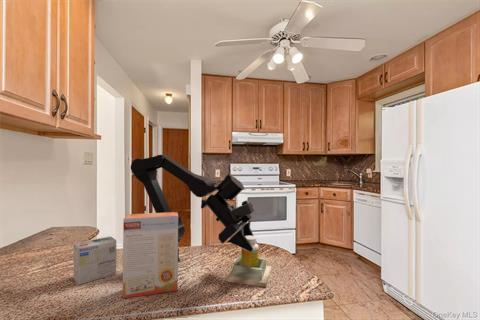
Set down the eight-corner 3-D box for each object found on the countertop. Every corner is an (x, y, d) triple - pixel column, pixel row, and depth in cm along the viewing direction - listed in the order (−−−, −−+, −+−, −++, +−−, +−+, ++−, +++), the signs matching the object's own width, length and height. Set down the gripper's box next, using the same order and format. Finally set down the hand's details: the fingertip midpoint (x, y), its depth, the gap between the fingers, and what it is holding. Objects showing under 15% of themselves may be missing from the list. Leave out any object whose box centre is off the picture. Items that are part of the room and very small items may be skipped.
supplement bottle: (252, 273, 73) (253, 241, 73) (237, 268, 76) (238, 237, 76) (261, 267, 78) (261, 236, 78) (246, 262, 81) (247, 233, 81)
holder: (226, 281, 72) (226, 267, 72) (236, 264, 84) (237, 253, 84) (266, 286, 69) (266, 272, 69) (271, 269, 81) (271, 257, 81)
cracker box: (177, 281, 72) (178, 210, 72) (177, 292, 66) (178, 215, 66) (125, 287, 68) (127, 213, 68) (121, 299, 62) (123, 217, 63)
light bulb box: (110, 267, 81) (110, 235, 81) (117, 274, 76) (117, 239, 76) (72, 277, 74) (72, 242, 74) (76, 286, 69) (77, 247, 69)
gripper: (229, 197, 69) (267, 240, 66) (246, 190, 87) (276, 224, 84) (203, 222, 71) (238, 265, 68) (225, 210, 89) (254, 244, 86)
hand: (254, 247), depth 76 cm, fingers closed on supplement bottle, 5 cm apart
